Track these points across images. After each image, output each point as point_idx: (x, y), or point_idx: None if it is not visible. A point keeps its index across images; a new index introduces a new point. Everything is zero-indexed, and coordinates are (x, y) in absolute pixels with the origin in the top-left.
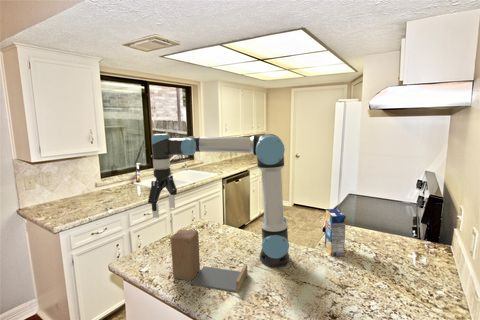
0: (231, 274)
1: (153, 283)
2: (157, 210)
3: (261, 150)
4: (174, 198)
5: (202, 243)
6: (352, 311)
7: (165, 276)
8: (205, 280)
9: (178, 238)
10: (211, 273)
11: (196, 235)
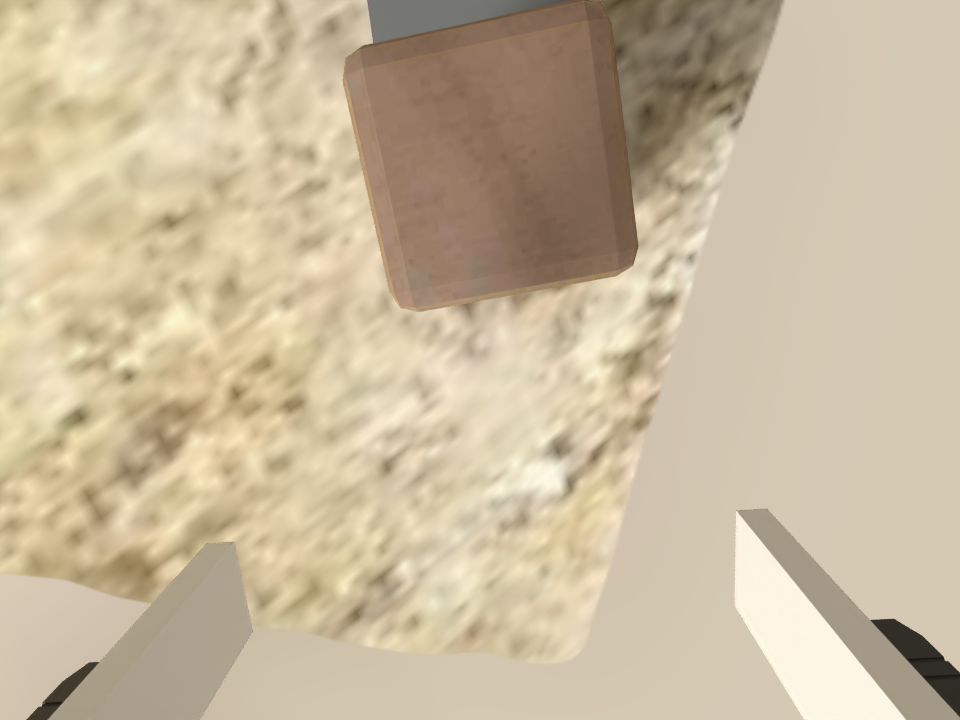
0: None
1: (653, 328)
2: (845, 596)
3: None
4: (87, 681)
5: (99, 310)
6: None
7: (568, 305)
8: (533, 2)
9: (620, 170)
10: (443, 4)
11: (428, 32)
